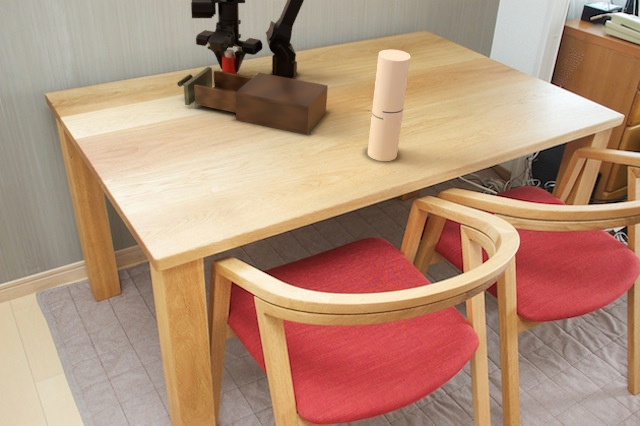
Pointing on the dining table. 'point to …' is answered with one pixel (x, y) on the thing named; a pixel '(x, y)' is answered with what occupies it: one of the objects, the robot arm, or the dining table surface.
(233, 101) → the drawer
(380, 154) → the cylindrical container
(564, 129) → the dining table surface
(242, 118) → the cabinet
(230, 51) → the ketchup bottle
